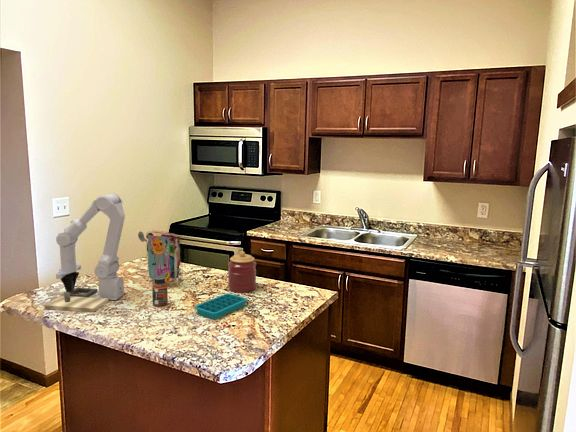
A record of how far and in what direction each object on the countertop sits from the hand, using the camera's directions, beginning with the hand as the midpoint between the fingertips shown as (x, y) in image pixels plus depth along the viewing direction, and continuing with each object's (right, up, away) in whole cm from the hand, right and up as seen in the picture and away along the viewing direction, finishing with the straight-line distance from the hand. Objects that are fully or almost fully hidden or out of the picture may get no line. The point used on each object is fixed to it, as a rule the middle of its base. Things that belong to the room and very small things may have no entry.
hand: (70, 290), depth 181 cm
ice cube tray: (+67, -6, -12) cm, 69 cm away
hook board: (+9, -4, -12) cm, 15 cm away
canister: (+73, -2, +13) cm, 74 cm away
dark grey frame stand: (+5, -2, 0) cm, 6 cm away
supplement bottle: (+42, -5, -8) cm, 43 cm away
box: (+32, 0, +19) cm, 37 cm away
